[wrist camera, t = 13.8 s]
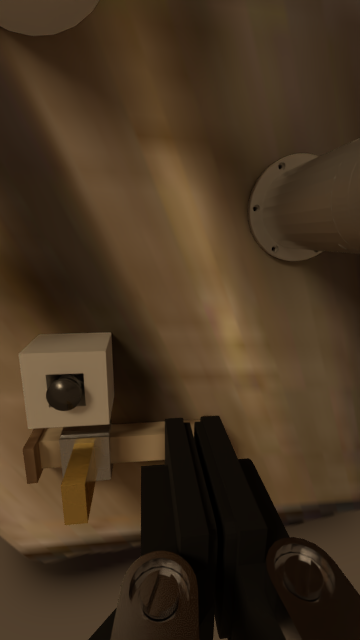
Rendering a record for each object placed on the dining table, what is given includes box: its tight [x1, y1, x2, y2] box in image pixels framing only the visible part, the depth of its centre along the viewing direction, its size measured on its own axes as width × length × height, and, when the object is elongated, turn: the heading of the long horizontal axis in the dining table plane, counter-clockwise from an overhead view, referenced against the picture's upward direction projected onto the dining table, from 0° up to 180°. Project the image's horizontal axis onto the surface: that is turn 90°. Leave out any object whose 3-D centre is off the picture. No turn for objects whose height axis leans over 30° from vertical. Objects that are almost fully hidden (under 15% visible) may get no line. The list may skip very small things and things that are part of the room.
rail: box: [23, 416, 205, 484], centre depth 43 cm, size 24×5×5 cm, turn 90°
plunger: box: [46, 373, 84, 411], centre depth 37 cm, size 4×4×7 cm
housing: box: [19, 332, 114, 429], centre depth 39 cm, size 9×9×7 cm
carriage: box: [59, 420, 113, 525], centre depth 39 cm, size 6×7×11 cm
